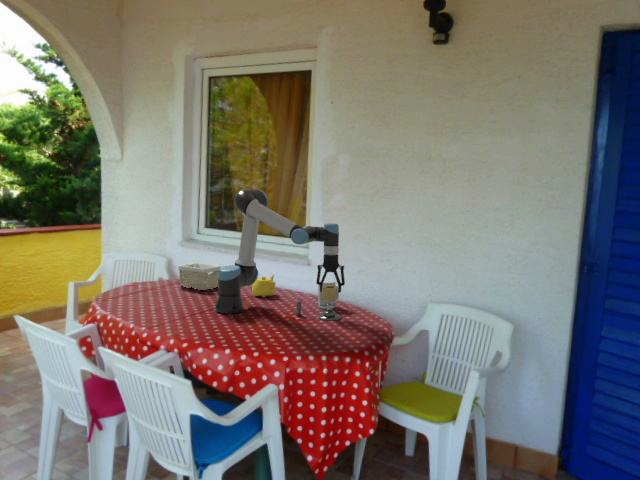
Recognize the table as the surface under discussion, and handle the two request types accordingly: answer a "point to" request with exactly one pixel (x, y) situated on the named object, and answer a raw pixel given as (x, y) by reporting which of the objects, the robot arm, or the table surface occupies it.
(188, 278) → the storage basket
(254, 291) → the teapot
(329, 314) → the hub
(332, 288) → the collar
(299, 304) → the stand rod
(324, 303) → the supplement tub
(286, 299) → the table surface
